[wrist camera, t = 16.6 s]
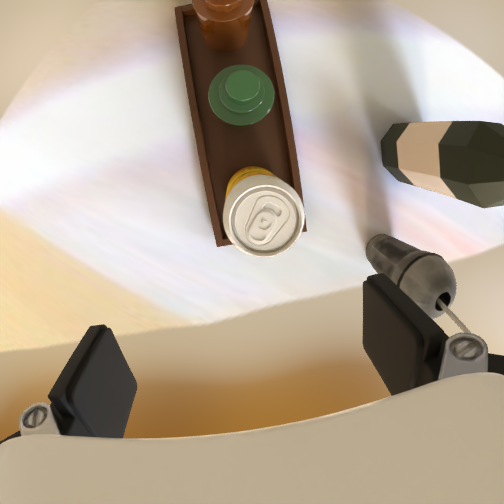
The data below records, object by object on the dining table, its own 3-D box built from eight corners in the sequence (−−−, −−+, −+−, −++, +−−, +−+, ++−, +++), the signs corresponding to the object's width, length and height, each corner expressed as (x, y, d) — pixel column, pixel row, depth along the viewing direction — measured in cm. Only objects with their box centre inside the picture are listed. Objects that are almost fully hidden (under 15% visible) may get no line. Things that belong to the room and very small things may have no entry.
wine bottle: (369, 136, 35) (592, 158, 6) (415, 112, 34) (618, 116, 5) (395, 193, 37) (591, 286, 9) (437, 166, 36) (624, 224, 8)
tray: (218, 240, 38) (217, 247, 36) (177, 15, 28) (174, 7, 26) (302, 225, 38) (306, 231, 36) (263, 2, 28) (265, -7, 26)
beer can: (287, 182, 36) (323, 206, 22) (261, 225, 37) (279, 275, 23) (243, 156, 34) (249, 162, 20) (217, 201, 36) (207, 238, 22)
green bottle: (219, 135, 33) (210, 127, 20) (211, 90, 32) (198, 57, 18) (266, 127, 33) (287, 115, 20) (259, 83, 32) (274, 46, 18)
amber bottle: (205, 56, 30) (190, 8, 17) (199, 19, 28) (183, -40, 15) (252, 49, 30) (263, -3, 17) (245, 11, 28) (251, -50, 15)
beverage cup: (395, 215, 38) (496, 272, 20) (407, 260, 41) (495, 332, 22) (349, 238, 39) (434, 315, 20) (365, 282, 41) (439, 372, 23)
